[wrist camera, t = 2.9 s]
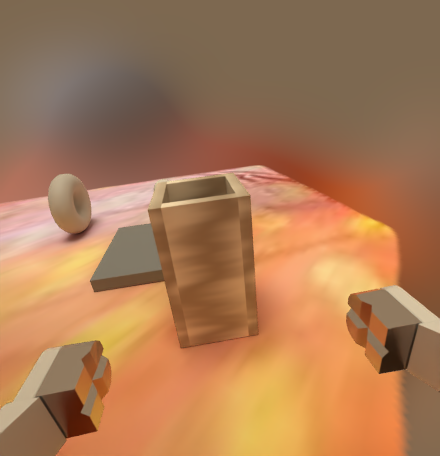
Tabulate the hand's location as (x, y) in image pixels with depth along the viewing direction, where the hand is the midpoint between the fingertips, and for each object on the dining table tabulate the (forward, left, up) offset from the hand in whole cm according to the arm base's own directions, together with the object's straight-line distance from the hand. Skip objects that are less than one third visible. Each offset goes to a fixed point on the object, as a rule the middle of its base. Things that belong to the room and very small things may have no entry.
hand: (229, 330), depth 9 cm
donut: (-21, +38, -11) cm, 45 cm away
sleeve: (0, +12, -11) cm, 16 cm away
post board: (-4, +26, -11) cm, 28 cm away
